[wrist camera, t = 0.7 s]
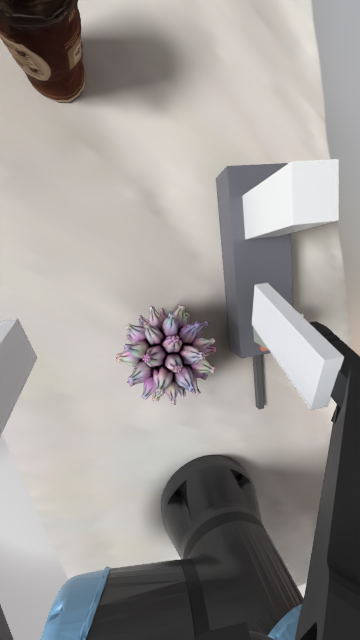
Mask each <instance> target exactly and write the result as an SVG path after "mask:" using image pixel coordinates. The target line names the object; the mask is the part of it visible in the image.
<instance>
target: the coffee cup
mask: <svg viewBox="0 0 360 640" xmlns="http://www.w3.org/2000/svg"><path fill="white" fill-rule="evenodd" d="M77 2H78V0H0V38H1V39H2V41H3V43H4V44H5V45H6V47H7V48H8V50H9V52H10V53H11V55H12V56H13V58H14V59H15V61H16V62H17V64H18V65H19V66H20V67H21V68H22V70H23V71H24V72H25V74H26V75H27V77H28V79H29V81H30V82H31V84H32V85H33V86H34V88H35V89H36V90H38V91H39V92H40V93H41V94H42V95H44V96H45V97H47V98H50V99H52V100H54V101H57V102H71V101H72V100H74V99H75V98H76V97H78V96H80V93H81V92H82V91H83V90H84V86H85V81H86V79H85V72H84V67H83V63H82V54H83V53H82V43H81V19H80V13H79V10H78V6H77Z"/></svg>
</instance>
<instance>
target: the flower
mask: <svg viewBox="0 0 360 640" xmlns="http://www.w3.org/2000/svg"><path fill="white" fill-rule="evenodd" d="M149 311H150V318H149V320H147V319H144V318H143V317H142V316H141V315H140V316H138V317H137V318H138V320H139V322H140V326H134V325H131V324H129V323H128V325H126V327H125V328H126V329H127V330H128V331H129V333H130V334H128V335H127V339H128V340H130V341H131V342H132V344H125V346H124V350H125V351H124V352H123V353H120V354H117V357H116V359H117V362H124V363H126V364H128V365H130V366H133V367H135V368H134V371H133V373H132V375H131V376H130V377H129V378H128V381H127V383H129V384H130V387H132V386H133V385H135V384H137V383H142V382H144V392H143V395H142V398H143V399H147V398H148V397H149V396H150V395H151V394H152V393H153V398H152V400H153V401H154V400H155V401H159V398H160V396H161V395H163V394H164V393H165V392H166V393H167V395H168V396H169V398H170V400H171V403H172V404H174V405H176V396H177V393H178V392H179V393H180V395H181V397H182V398H184V396H186V392H185V389H186V390H188V391H189V392H192V393H194V395H195V396H197V395H198V394H199V393H201V392H200V391H199V389H198V387H197V379H196V378H201V379H203V380H206V379H207V377H208V376H207V374H205V373H204V372H210V373H214V372H215V370H216V369H215V368H216V367H215V366H213V365H211V364H210V363H209V362H208V361H207V359H206V357H207V356H208V355H209V354H211V353H215V352H216V349H215V348H216V347H215V346H210V345H211V344H213V343H215V342H216V341H215V339H214V338H211V339H207V338H201V335H202V334H203V333H202V332H203V330H204V328H205V327H206V326H207V325H208V323H207V321H203V322H202V323H199V322H197V321H196V322H195V323H194V324H190V323H189V317H190V315H189V313H187V312H186V313H185V306H181V305H178V307H177V309H176V311H175V312H170V313H169V315H168V316H167V315H166V314H165V312H164V309H163V308H161V309H159V313H158V312H157V311H156V310H155V308H154V306H151V307H150V308H149Z"/></svg>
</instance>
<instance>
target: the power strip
mask: <svg viewBox="0 0 360 640" xmlns="http://www.w3.org/2000/svg"><path fill="white" fill-rule="evenodd" d="M287 164H288V163H282V164H262V165H242V166H227V167H226V168H225V169H224V170H223V171H222V172H221V173H220V174H219V176H218V177H217V178H216V184H217V196H218V208H219V220H220V232H221V244H222V257H223V269H224V281H225V293H226V305H227V318H228V330H229V342H230V350H231V351H232V352H233V353H235V354H236V355H237V356H239V357H240V358H246V357H251V356H253V367H254V382H255V397H256V407H257V408H258V409H263V408H264V397H263V380H262V364H261V355H262V354H268V353H271V352H270V350H269V349H267V348H265V347H263V346H261V345H259V344H257V343H256V342H254V333H253V326H252V313H253V300H254V287H255V284H262V283H268V284H269V285H270V286H271V287H272V288H273V289H274V290H275V291H277V292H278V293H279V294H280V295H281V296H282V297H283V298H284V299H285V300H286V301H287V302H288V303H289V304H290V305H291V306H292V307H293V290H292V262H291V233H289V234H286V235H282V236H277V237H267V238H257V239H247V240H245V228H244V213H243V198H242V196H243V195H244V194H246V193H247V192H248V191H250V190H251V189H253V188H254V187H256V186H257V185H258V184H260V183H261V182H263V181H264V180H266V179H267V178H269V177H270V176H271V175H273V174H274V173H276V172H277V171H279V170H280V169H281V168H283V167H284V166H286V165H287Z"/></svg>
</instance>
